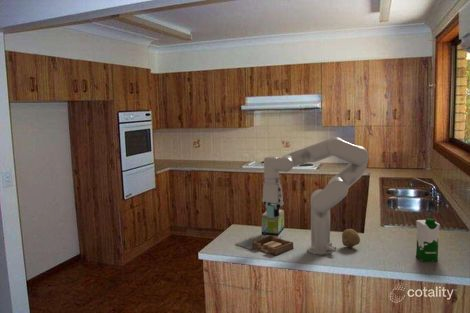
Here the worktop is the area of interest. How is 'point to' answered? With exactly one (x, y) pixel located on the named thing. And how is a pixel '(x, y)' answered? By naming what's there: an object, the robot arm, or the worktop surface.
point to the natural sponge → (350, 238)
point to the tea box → (273, 225)
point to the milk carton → (427, 239)
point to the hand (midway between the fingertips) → (272, 215)
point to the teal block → (270, 210)
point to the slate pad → (246, 244)
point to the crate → (272, 245)
